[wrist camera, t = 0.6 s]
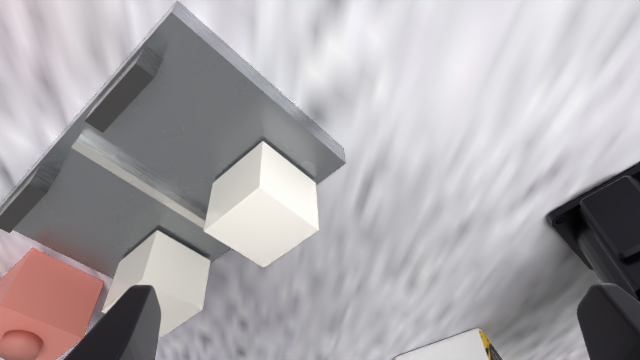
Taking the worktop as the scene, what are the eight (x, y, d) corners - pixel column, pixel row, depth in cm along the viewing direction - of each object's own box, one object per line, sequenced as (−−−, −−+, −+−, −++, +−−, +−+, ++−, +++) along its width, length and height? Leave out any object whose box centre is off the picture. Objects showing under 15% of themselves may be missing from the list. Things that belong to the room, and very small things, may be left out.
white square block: (315, 182, 23) (318, 230, 20) (266, 219, 24) (263, 267, 22) (262, 140, 21) (259, 186, 18) (212, 182, 22) (203, 231, 20)
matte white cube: (210, 260, 26) (202, 309, 23) (169, 291, 27) (157, 340, 25) (157, 230, 24) (142, 279, 22) (116, 264, 26) (98, 314, 23)
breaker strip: (343, 148, 23) (349, 184, 21) (163, 285, 29) (153, 324, 27) (177, 0, 18) (162, 28, 16) (1, 202, 24) (-27, 242, 22)
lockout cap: (104, 280, 29) (78, 351, 25) (67, 311, 31) (37, 382, 27) (33, 246, 27) (-8, 319, 23) (-3, 282, 28) (-46, 355, 25)
